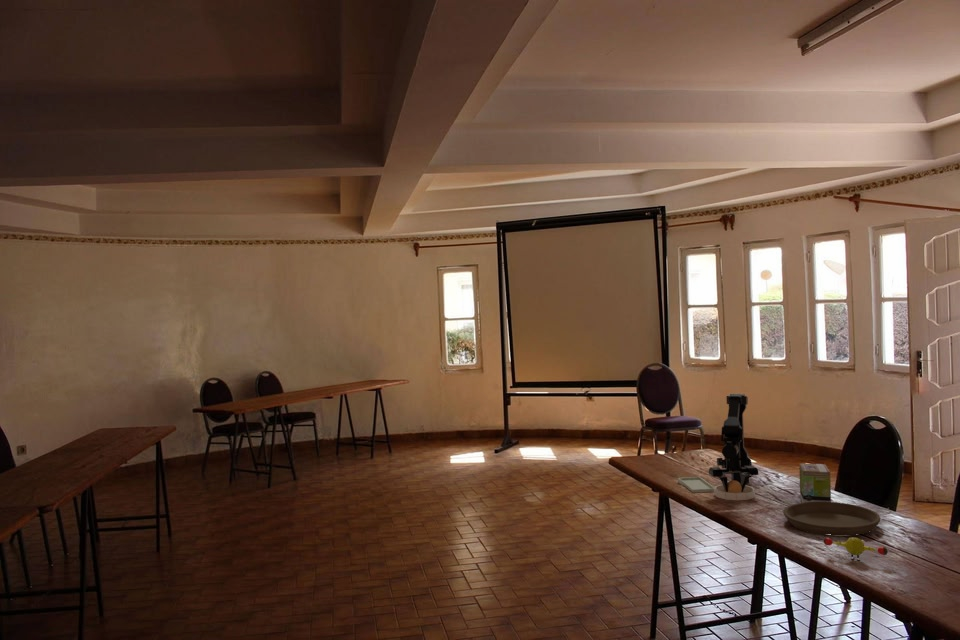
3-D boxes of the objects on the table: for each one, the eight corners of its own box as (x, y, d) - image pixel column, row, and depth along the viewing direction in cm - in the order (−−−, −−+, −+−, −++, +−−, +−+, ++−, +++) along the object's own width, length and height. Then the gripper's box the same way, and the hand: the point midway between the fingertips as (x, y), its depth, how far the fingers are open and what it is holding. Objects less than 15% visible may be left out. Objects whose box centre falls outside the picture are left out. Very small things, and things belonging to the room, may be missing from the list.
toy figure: (890, 562, 218) (889, 540, 218) (886, 568, 214) (885, 545, 214) (827, 551, 230) (826, 530, 230) (821, 556, 226) (820, 534, 226)
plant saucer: (826, 543, 238) (825, 530, 238) (765, 519, 268) (764, 506, 268) (902, 532, 246) (901, 519, 246) (835, 509, 276) (834, 497, 276)
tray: (700, 481, 328) (699, 476, 328) (716, 493, 306) (716, 488, 306) (678, 482, 328) (677, 477, 328) (693, 494, 306) (692, 489, 306)
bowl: (746, 491, 307) (745, 483, 307) (760, 501, 291) (760, 492, 291) (709, 493, 307) (709, 484, 307) (722, 502, 291) (721, 494, 291)
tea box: (832, 510, 275) (830, 471, 274) (803, 509, 278) (801, 470, 278) (827, 500, 289) (825, 463, 289) (799, 499, 292) (798, 462, 292)
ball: (738, 492, 302) (738, 478, 302) (744, 496, 296) (743, 481, 296) (724, 493, 302) (724, 479, 302) (729, 497, 296) (729, 482, 296)
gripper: (747, 449, 307) (749, 486, 307) (703, 451, 307) (705, 488, 307) (758, 454, 296) (759, 492, 296) (712, 456, 296) (714, 495, 296)
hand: (734, 492), depth 299 cm, fingers closed on ball, 6 cm apart
